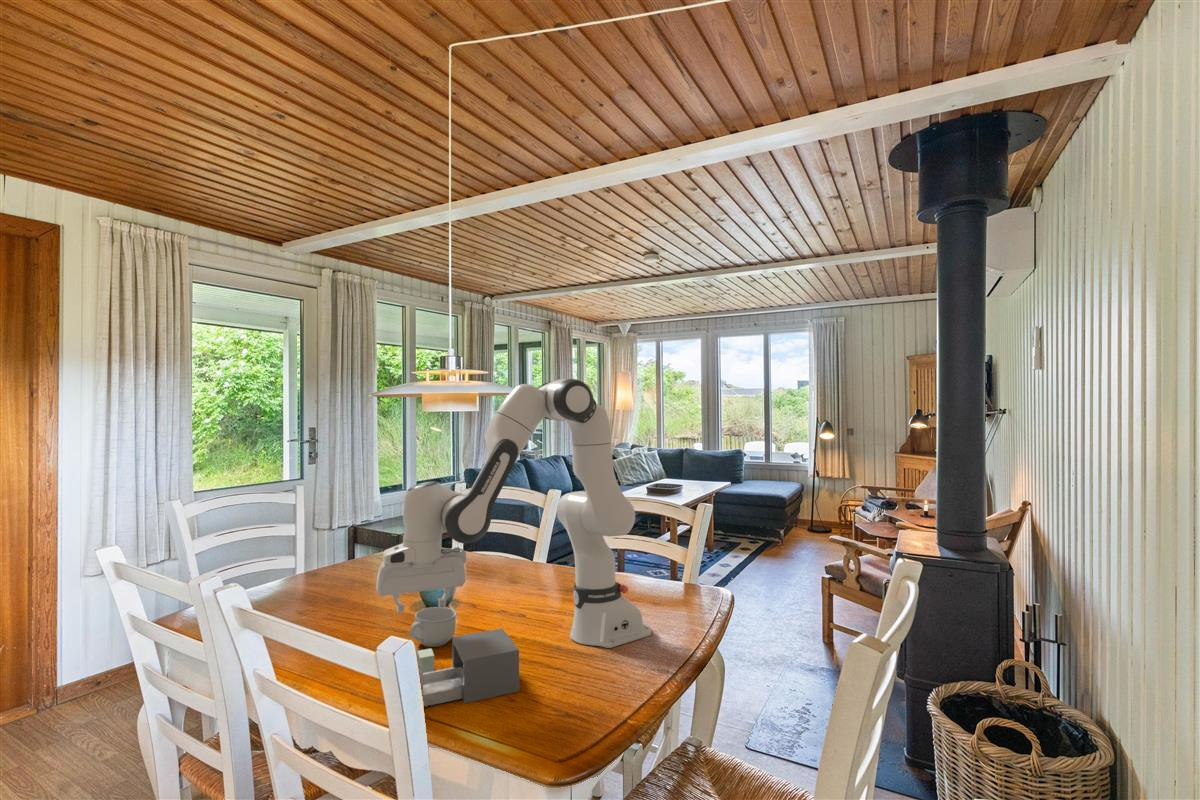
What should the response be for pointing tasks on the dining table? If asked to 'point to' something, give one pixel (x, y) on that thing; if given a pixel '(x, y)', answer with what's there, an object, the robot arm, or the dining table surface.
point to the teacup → (433, 626)
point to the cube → (427, 660)
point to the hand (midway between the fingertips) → (421, 609)
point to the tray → (440, 684)
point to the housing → (486, 664)
